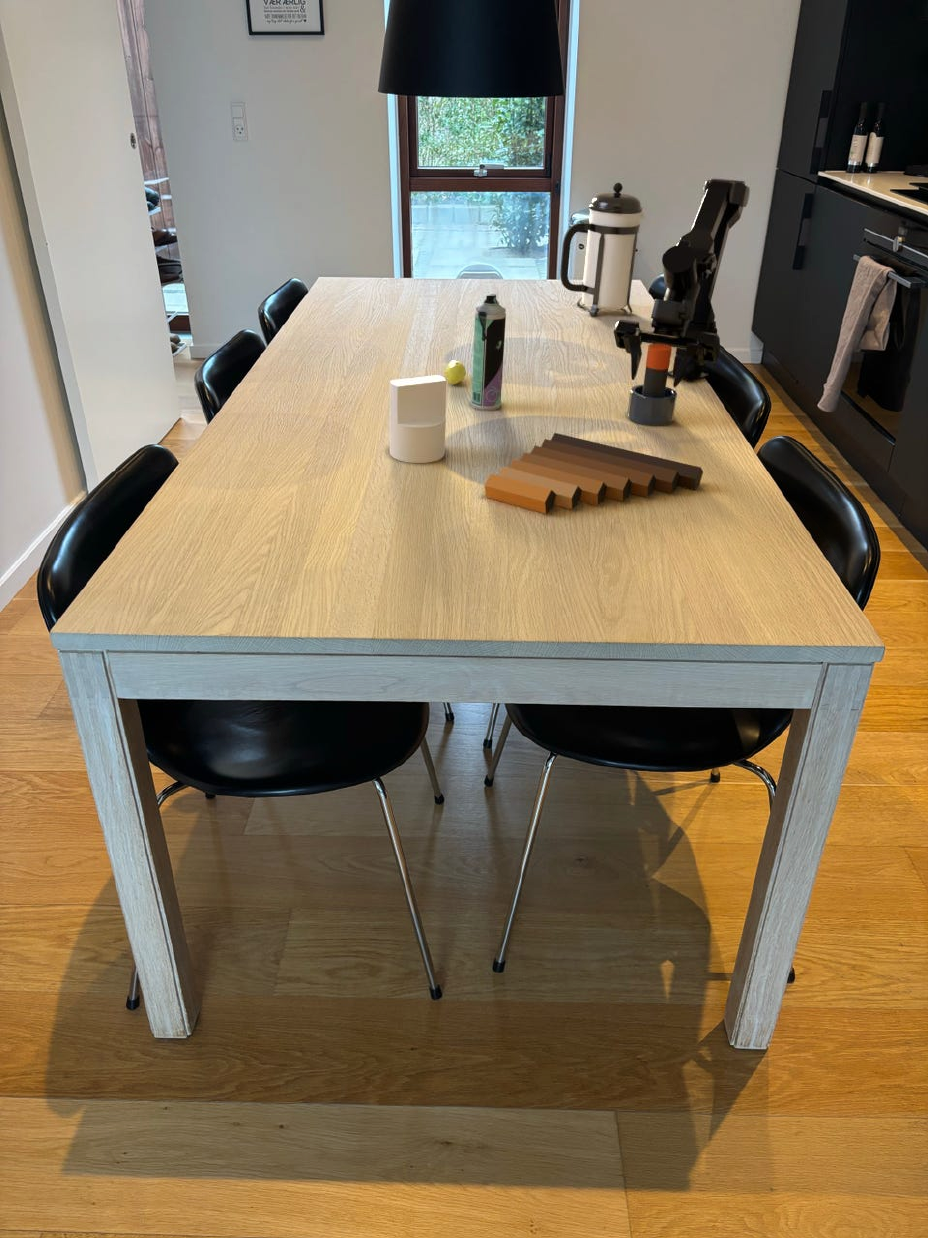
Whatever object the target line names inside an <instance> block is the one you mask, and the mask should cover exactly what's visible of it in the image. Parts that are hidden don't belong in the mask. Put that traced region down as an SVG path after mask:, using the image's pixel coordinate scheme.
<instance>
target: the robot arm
mask: <svg viewBox="0 0 928 1238" xmlns="http://www.w3.org/2000/svg"><path fill="white" fill-rule="evenodd" d="M702 186H703V187H702V191H701V196H700V202H701V204H700V206H699V209H698V211H697V213H696V216H695V219H694V222H693V224H692V226H691V229H690V231H689V232H687V233H685V234H684V235H683V236H681V237H680V238H679V239H678V242H677V244H676V245H674V246H673V245H672V246H671V247H669V248H668V249H667V250H666V251H665V252H664V253H663V254H662V257H661V263H662V264H661V265H662V272H663V280H664V281H663V282H664V286H665V287H666V289H665V290H666V291H665V294H664V297H663V299H660V298H656V299H654V303H653V307H652V311H651V315H650V319H652V320H651V323H650V326H651V328H653V331H649V330H642V329H641V328H640V323H639V321H632V320H626V319H620V320H619V321H617V322H615V325H614V328H613V336H614V340H615V346H616V347H617V348H618V349H620V350H625V352H626V353H627V354H628V355H630V376H631V381H635V379H636V377H637V375H638V371H639V367H640V363H641V360H642V356H643V351H642V344H643V343H645V344H665V345H669V346H671V347H672V348H676V349H675V355H674V359H673V360H674V361H673V366H672V370H670V371H668V376H667V377H670V378H674V380H673V384H672V386H673V388H677V387H678V386H679V384H681V382H682V381H684V382H688V383H694V382H697V381H700V380H703V379H706V378H708V377H709V373H705V372H703V368H704V365H705V363H710V364H715V363H718V360H719V356H720V353H721V338H720V336H719V334H718V328H717V321H716V319H715V318H716V314H715V312H714V308H713V304H712V298H713V295H714V291H715V287H716V283H717V279H718V275H719V271H720V268H721V263H722V259H723V255H724V250H725V247H726V245H727V244H726V243H727V240H728V235H729V232H730V229H731V228H733V226H735V225H736V224H737V222H738V221H739V220H740V219H741V217H742V214H743V211H744V208H746V207H747V206H748V203H749V198H750V193H751V188H750V187H749V186H748V185H746V182H745V180H737V179H727V178H726V179H725V178H711V179H707V181H704V182H703V185H702Z"/></svg>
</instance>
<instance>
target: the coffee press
mask: <svg viewBox="0 0 928 1238" xmlns="http://www.w3.org/2000/svg"><path fill="white" fill-rule="evenodd" d="M612 189H613V192H607V193H606V192H604V193H600V194H597V195H596V196H594V197H593V198H592V200H591V202H590V203H589V204H588V209H589V219H588V221H587V222H577V223H574V224H572V225H571V226H570V227H569V228H568V229H567V231H566V232H565V234H564V236H563V241H562V248H561V259H560V269H559V271H560V272H559V278H560V282H561V284H562V286H563V288H564V289H566V290H568V291H570V292H575V293H576V292H577V293H581V297H580V299H579V300H578V301H577V302H576V307H578V308H582V307H584V306H587V307H588V308H590V311H589V316H591V317H596V316H597V315H598V313H599V311H601V310H604V311H614V310H615V311H617V310H621V311H622V312H623V313H624V314H625V316H628V317H629V316H631V315H632V314H633V308H632V306H631V303H630V298H631V293H632V292H631V291H632V284H633V275H634V266H635V259H636V251H637V243H638V233H640V225H641V224H640V220H644V219H645V217H646V216H645V214H644V211H643V207H642V204H641V201H640V200H639V199H638V198H637V197H636V196H634V195H631V194H627V193H621V192H622V190H623V189H624V187H623V185H622V183H621V182H615V183H614V184H613V186H612ZM583 231H587V240H586V249H585V261H584V271H583V281H582V283H581V284H580V283H579V284H578V283H577V284H576V283H572V282H571V281H570V280H569V265H570V256H571V255H570V254H571V245H572V240H573V238H574V236H575V234H577V233H578V232H583ZM581 302H582V305H581ZM626 307H627V308H628V310H629V313H628V311H627V310H626Z"/></svg>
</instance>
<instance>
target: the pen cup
mask: <svg viewBox="0 0 928 1238" xmlns="http://www.w3.org/2000/svg"><path fill="white" fill-rule="evenodd" d="M629 391H630V392H629V398H628V406H627V419H628V420H630V421H631V422H633V423H636V424H640V425H644V426H650V427H651V426H652V427H661V426H667V425H670V424H671V423H672V422H673V420H674V417H675V410H676V404H677V398H678V393H677V391H676V390H675V389H673V388H671V387H668V386H666V389H665V395H664V398H653V397H647V396H643V395H642V391H643V384H637V385H634V386H632V387H631V388H630V390H629Z"/></svg>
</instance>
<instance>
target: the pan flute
mask: <svg viewBox="0 0 928 1238" xmlns="http://www.w3.org/2000/svg"><path fill="white" fill-rule="evenodd" d="M703 473H704V471H703V469H702V467H701V466H697V465H692V464H688V463H684V462H680V461H675V460H670V459H667V458H662V457H659V456H654V455H651V454H650V455H649V454H646V453H641V452H637V451H633V450H629V449H625V448H621V447H617V446H613V445H607V444H605V443H600V442H595V441H591V440H587V439H583V438H578V437H574V436H570V435H566V434H561V433H557V432H554V433H553V436H552V437H551V438H550V439H546V438H544V440H543V442H542V444H541V446H539V445H534V446H533V448H532V450H531V452H530V453H529V452H527V451H524V452H523V454H522V455H521V458H520V460H519V459H516V458H514V459H512V461H511V463H510V465H509V466H501V468H500V470H499V471H498V474H495V473H490V474H489V476H488V478H487V480H486V482H485V483H484V493H485V498H488V499H490V500H494V501H498V502H502V503H505V504H509V505H513V506H516V507H520V508H523V509H527V510H531V511H534V512H538V513H541V514H545V515H546V514H548V513H549V512H551V511H552V510H553V509H554V506H557V507H560V508H564V509H568V510H571V511H572V510H574V509H575V508H576V507H578V506H579V504H580V502H583V503H586V504H589V505H593V506H600V505H601V504H602V503H603V502H604V501H605V498H606V499H607V498H608V499H611V500H614V501H619V502H624V501H626V499H628V498H629V496H630V495H635V496H639V497H642V498H647V499H648V498H649V497H650V496H651V495H652V494H653V493H654V491H659V492H662V493H665V494H670V495H672V494H673V493H674V492H675V491H676V490H677V488H678V487H680V488H684V489H689V490H692V491H696V490H697V489H698V488H699V487H700V485H701V482H702V479H703Z"/></svg>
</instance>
